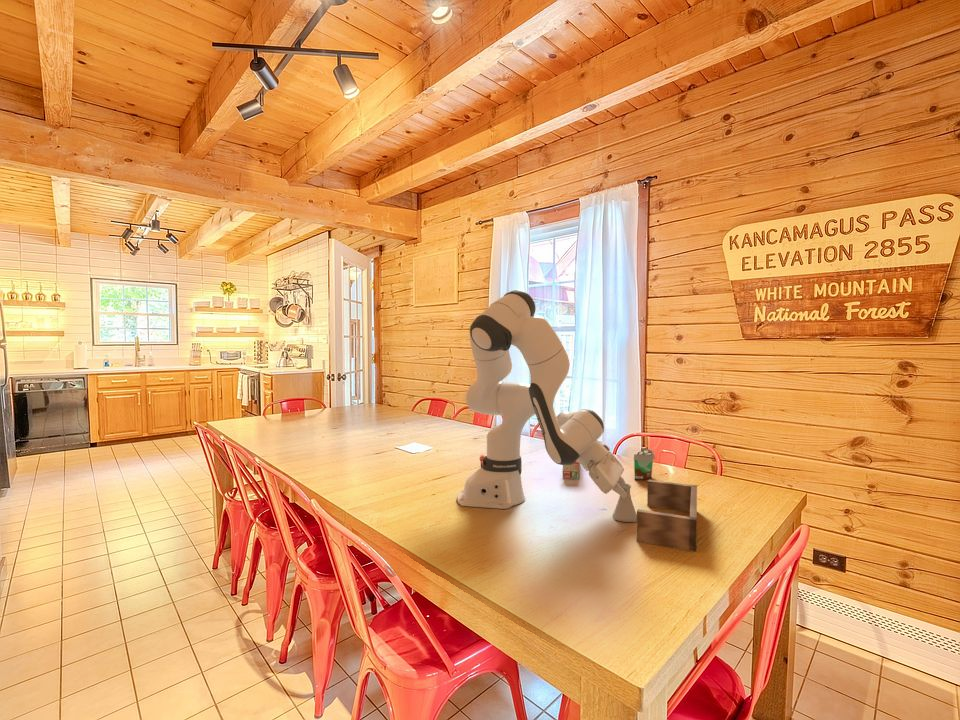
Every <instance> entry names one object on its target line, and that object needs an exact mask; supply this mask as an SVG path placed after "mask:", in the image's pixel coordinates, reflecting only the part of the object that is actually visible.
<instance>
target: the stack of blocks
mask: <svg viewBox="0 0 960 720" xmlns="http://www.w3.org/2000/svg"><path fill="white" fill-rule="evenodd" d="M580 468H581V464H580V463H579V462H578V461H577V460H576V461H575V462H574V463H573V464H572V465H562V479H569V480H570V479H571V480H580V474H581V469H580Z"/></svg>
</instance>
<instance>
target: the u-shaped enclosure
mask: <svg viewBox="0 0 960 720" xmlns="http://www.w3.org/2000/svg"><path fill="white" fill-rule="evenodd" d="M646 501H647V504H646V505H647V507H651V508H652V507H653V508H660V509H664V510H665V509H667V510H673V511H674V510H675V511H679V512H685V513H686V512H687V513H689V516H687V515H679V514H673V513H667V512H660V511H651V510H646V509H639V508H638V509H636V514H637V520H636V542H639V543H645V544H649V545H657V546H662V547H666V548H671V549H673V548H674V549H678V550H683V551H684V550H685V551H691V552H697V528H698V527H697V525H698V524H697V522H698V521H697V515H698V514H697V511H698V485H694V484H687V483H686V484H685V483H680V482H679V483H678V482H670V481H664V480H655V479H654V480H653V479H650V480H647V499H646Z"/></svg>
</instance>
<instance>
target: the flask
mask: <svg viewBox="0 0 960 720" xmlns="http://www.w3.org/2000/svg"><path fill="white" fill-rule="evenodd" d="M620 487H621V488H623V489H625V490H626V492H627V493H628V495H627V496H626V497H625V498H622V497H621V496H620V495H619V498H618V501H617V504H616V505H615V508H614V511H613V514H612V517H613V519H614V520H615V521H620V522H623V523H636V522H637V511H636V510H635V506H634V503H633V501H632V496H631V487H632V485H631V484H629V483H626V484H620Z"/></svg>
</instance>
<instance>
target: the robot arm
mask: <svg viewBox="0 0 960 720" xmlns="http://www.w3.org/2000/svg"><path fill="white" fill-rule="evenodd" d="M535 313H536V303H535V301H534V299H533V298H532V296H531V295H530V294H529V293H527V292H526V291H524V290H522V289H513V290H511V291H509V292H506V293H505V294H504V295H503V296H502V297H500V298H498V299H496V300H495V301H494V302H492V303H491V304H490V305H489V306H488V307H487V308H486V309H485V310H484V311H483V312H482V313H481V314H480V315H478V316H477V317H476V318H475V319H474V320H473V321H472V323H470V324H471V325H470V326H469V340H470V341H469V342H470V348H471V352H472V357H473V360H474V362H475V367H476V373H477V374H476V375H477V376H476V380H475V382H473V383H472V384H471V385H470V386H468V389H467V391H466V394H465V401H466V406H467V408H468V409H469V410H470V411H472V412H475V413H476V414H477V413H478V414H480V415H486V416H487V415H488V416H490V415H491V416H500V417H501V416H502V421H501V423H500V424H498V425H496V426H495V427H492V428H491V429H489V431H488V432H487V434H486V456H485V454H481V455H480V456H479V461H480V468H478V469H477V470H476V471H474V472H473V473H472V474H471V475H469V476H468V477H467V479H466V480H465V483H464V487H463V489H461V490H460V491H459V492H458V494H457V499H456V501H457V503H458V504H459V505H460V506H463V507H474V508H490V509H501V510H502V509H503V510H506V509H509V508H511V507H513V506H516V505H519V504H521V503H523V502H524V501H526V496H525V493H524V489H523V483H522V475H521V474H522V470H523V469H522V468H523V463H522V456H521V440H522V439H521V437H522V432H523V429H524V427H525V425H526V423H528V421H529V420H530V419H531V418H533V416H536V418H537V422H538V425H539V428H540V431H541V433H542V437H543V441H544V446H545V450H546V452H547V454H548V456H549V458H550V460H552V461H553V462H554V463H555V464H557V465H561V466H563V465H572V464H573V463H574V462H575V461H576V460H577V461H578V462H579V463H580V466H582V469H584V470H585V471H586V472H588V474H589V478H590V479H591V480H592V481H593V482H594V484H595V486H597V488H598V489H599V490H600V491H601V492H602V493H603V494H606V495H607V494H608V493H609V492H611V491H612V490H613V492H615V493H616V494H617V495H619V497H620V496H621V497H622V498H625V497H626V496H627V495H628V493H627V492H626V490H625V489H623V488H621V487H620V484H627V483H626V481H625V479H624V477H622V475H623V473H624V471H625V468H624V466H623V464H622V463H621V462H620V461H619V460H618V459H617V457H616V456H615V455H614V454H613V453H612V452H611V451H610V450H611V449H610V447H609V446H608V445H607V444H603V443H601V442H600V441H599V440H598V439H600V438H601V436H602V435H603V434H604V433H605V425H604V421H603V420H602V418H601V416H599V414H597V413H596V411H595V410H591V409H586V408H585V409H584V408H583V409H581V410H579V411H575V412H571V411H569V410H564V411H562V412H560V413H559V414H558V415H556V413H555V410H554V402H555V399H556V395H557V393H558V391H559V389H560V388H561V385H562V384H563V383H564V381H565V380H566V378H567V376H568V374H569V371H570V359H569V355H568V353H567V351H566V348H565V347H564V345H563V343H562V341H561V339H560V337H559V336H558V334H557V332H556V331H555V330H554V328H553V327H552V325H551V324H550V323H549V322H548V321H547V320H546V319H545V317H543V316H540V315H535ZM511 346H513V347H516V348H517V349H518V350H519V352H520V353H521V356H522V357H523V359H524V361H525V363H526V365H527V367H528V371H529V374H530V375H529V376H530V383H524V382H503V380H505V379H506V378H507V377H508V376H509V375H510V374H511V372H512V369H513V363H512V358H511V354H510V348H511Z"/></svg>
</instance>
